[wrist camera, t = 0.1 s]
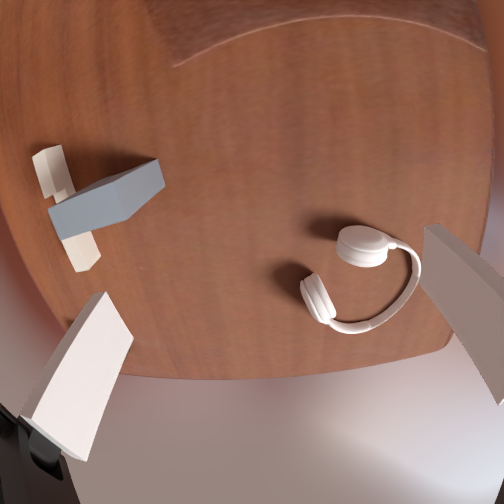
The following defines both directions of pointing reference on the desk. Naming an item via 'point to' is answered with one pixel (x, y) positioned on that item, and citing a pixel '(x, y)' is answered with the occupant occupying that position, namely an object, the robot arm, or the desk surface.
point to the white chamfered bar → (60, 185)
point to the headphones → (364, 255)
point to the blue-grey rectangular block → (107, 200)
